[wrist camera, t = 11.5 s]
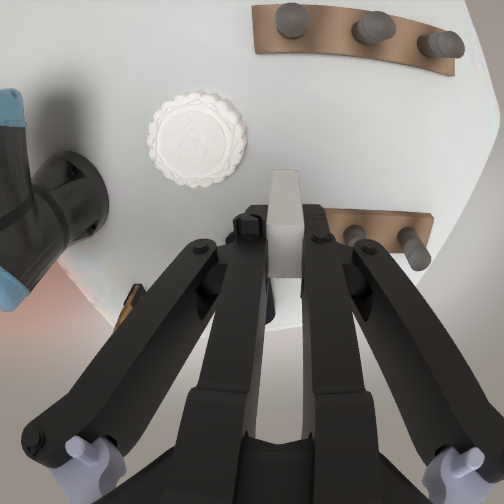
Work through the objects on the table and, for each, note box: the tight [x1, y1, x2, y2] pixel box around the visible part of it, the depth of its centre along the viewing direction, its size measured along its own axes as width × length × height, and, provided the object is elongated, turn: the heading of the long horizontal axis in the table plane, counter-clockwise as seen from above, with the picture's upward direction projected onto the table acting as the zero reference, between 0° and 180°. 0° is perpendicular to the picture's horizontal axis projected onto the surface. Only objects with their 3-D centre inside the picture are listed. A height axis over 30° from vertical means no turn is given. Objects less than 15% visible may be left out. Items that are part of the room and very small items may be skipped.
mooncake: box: [147, 91, 247, 189], centre depth 31 cm, size 12×12×4 cm
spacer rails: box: [252, 3, 465, 271], centre depth 27 cm, size 24×32×8 cm
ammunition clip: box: [113, 284, 146, 333], centre depth 47 cm, size 11×2×12 cm, turn 11°
